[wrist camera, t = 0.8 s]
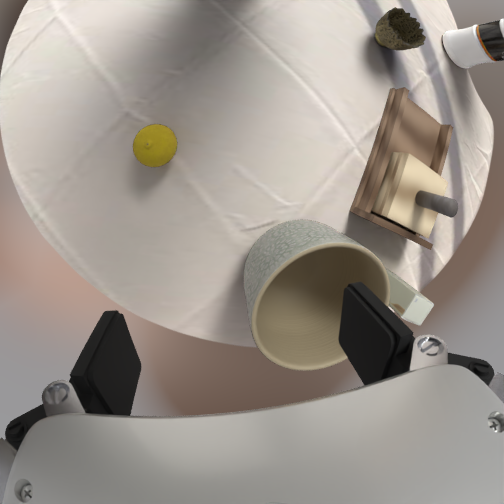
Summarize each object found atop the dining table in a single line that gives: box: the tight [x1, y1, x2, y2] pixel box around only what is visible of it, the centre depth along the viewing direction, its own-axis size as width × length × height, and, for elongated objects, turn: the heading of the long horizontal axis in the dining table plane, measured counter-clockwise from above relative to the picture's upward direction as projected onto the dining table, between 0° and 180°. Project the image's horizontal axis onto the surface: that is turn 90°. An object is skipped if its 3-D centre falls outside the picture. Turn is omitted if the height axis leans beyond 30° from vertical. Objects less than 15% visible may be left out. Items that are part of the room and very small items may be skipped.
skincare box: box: [385, 268, 434, 325], centre depth 41 cm, size 6×4×12 cm
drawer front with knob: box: [371, 152, 458, 238], centre depth 34 cm, size 10×10×13 cm
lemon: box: [133, 124, 177, 167], centre depth 31 cm, size 6×6×8 cm
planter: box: [244, 220, 390, 371], centre depth 36 cm, size 17×17×15 cm
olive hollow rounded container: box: [375, 8, 426, 50], centre depth 28 cm, size 8×7×8 cm
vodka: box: [443, 19, 504, 68], centre depth 18 cm, size 9×9×30 cm
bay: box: [350, 87, 453, 250], centre depth 36 cm, size 23×14×7 cm, turn 160°
